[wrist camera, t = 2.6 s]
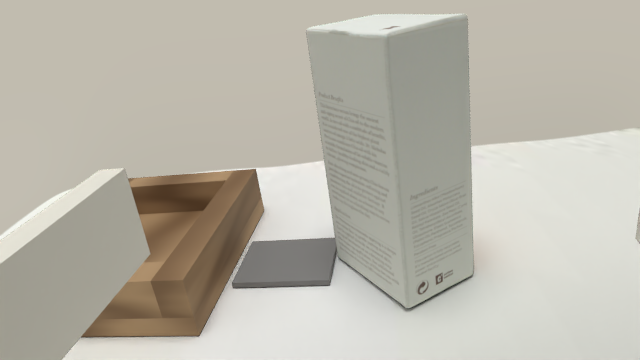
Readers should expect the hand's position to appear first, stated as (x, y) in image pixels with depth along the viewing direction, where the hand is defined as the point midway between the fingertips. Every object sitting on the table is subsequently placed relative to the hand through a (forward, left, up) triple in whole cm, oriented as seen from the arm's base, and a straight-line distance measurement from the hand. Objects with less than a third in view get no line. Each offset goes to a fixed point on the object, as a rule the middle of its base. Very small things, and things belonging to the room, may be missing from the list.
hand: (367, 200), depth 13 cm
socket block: (+14, -11, -9) cm, 20 cm away
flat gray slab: (+6, -10, -9) cm, 15 cm away
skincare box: (0, -10, -9) cm, 13 cm away
